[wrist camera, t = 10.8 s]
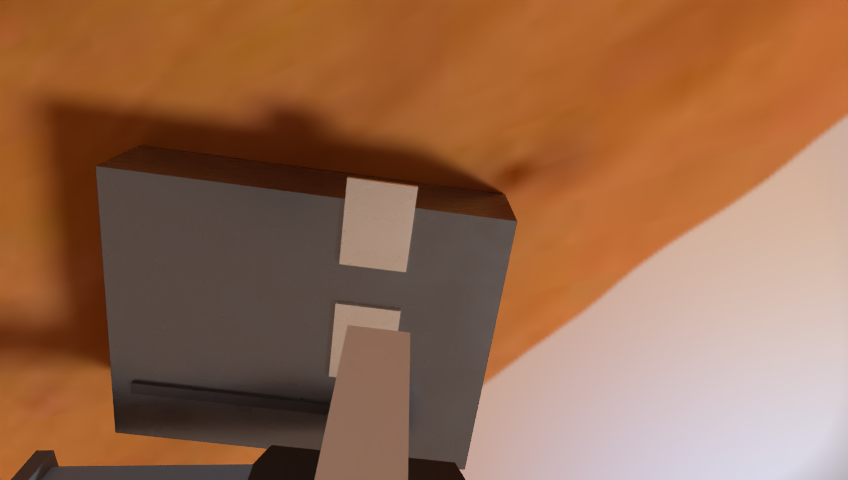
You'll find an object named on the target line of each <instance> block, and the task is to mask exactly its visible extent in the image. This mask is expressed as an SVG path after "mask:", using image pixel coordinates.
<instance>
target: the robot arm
mask: <svg viewBox="0 0 848 480" xmlns="http://www.w3.org/2000/svg"><path fill="white" fill-rule="evenodd" d="M409 384H410V332H402V331H393V330H385V329H377V328H368V327H360V326H352V325H347V330H346V335H345V339H344V344H343V349H342V353H341V358H340V363H339V367H338V372H337V377H336V381H335V386H334V391H333V395H332V400H331V405H330V409H329V414H328V419H327V423H326V428H325V433H324V437H323V442H322V447H321V450H316V449H306V448H296V447H287V446H277V445H271V446H270V447H269V448H268V449H267V450H266V451H265V452H264V453H263V454H262V455H261V456H260V457H259V458H258V460H257V461H256V462H255V463H254V464H253V466H252V469H251V472H250V475H249V477H248V480H465V478H464V477H463V475H462V473H461V472H460V470H459V468H458V467H457V465H456V463H455V462H446V461H437V460H427V459H418V458H408V449H409Z"/></svg>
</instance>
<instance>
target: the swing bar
mask: <svg viewBox="0 0 848 480" xmlns="http://www.w3.org/2000/svg"><path fill="white" fill-rule="evenodd" d="M252 466H253V464H252V465H158V466H65V467H59V466H58V463H57V460H56V457H55V454H54V450H48V451H36V452H35V453H34V454H33V455H32V456H31V457H30V459H29V460H28V461H27V462H26V463H25V464H24V465H23V467H22V468H21V469H20V470H19V471H18V472H17V473H16V475H15V476H14V477H13V478H12V479H11V480H248V477H249V475H250V472H251V469H252Z"/></svg>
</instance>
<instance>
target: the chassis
mask: <svg viewBox="0 0 848 480" xmlns="http://www.w3.org/2000/svg"><path fill="white" fill-rule="evenodd" d="M96 177H97V190H98V203H99V217H100V230H101V244H102V257H103V271H104V284H105V297H106V311H107V324H108V338H109V351H110V365H111V378H112V391H113V405H114V418H115V432H116V433H125V434H135V435H144V436H153V437H163V438H172V439H182V440H191V441H200V442H210V443H219V444H229V445H238V446H247V447H257V448H266V449H268V448H269V447H270V446H271V445H277V446H287V447H296V448H306V449H316V450H321V447H322V442H323V437H324V433H325V428H326V423H327V419H328V414H329V409H330V405H331V400H332V395H333V391H334V386H335V381H336V377H337V372H338V367H339V363H340V358H341V353H342V349H343V344H344V339H345V335H346V330H347V325H352V326H360V327H368V328H377V329H385V330H393V331H402V332H410V384H409V449H408V458H418V459H427V460H437V461H446V462H455V463H456V465H457V467H458V468H459V469H465V465H466V461H467V456H468V451H469V447H470V442H471V437H472V432H473V427H474V423H475V418H476V413H477V409H478V404H479V399H480V394H481V390H482V385H483V380H484V376H485V371H486V366H487V362H488V357H489V352H490V347H491V343H492V338H493V333H494V328H495V324H496V319H497V314H498V310H499V305H500V300H501V295H502V291H503V286H504V281H505V277H506V272H507V267H508V262H509V258H510V253H511V248H512V243H513V239H514V234H515V229H516V225H517V220H516V218H515V215H514V213H513V211H512V209H511V207H510V205H509V202H508V200H507V198H506V196H505V194H499V193H492V192H484V191H477V190H469V189H462V188H454V187H447V186H439V185H432V184H424V183H417V182H409V181H402V180H394V179H387V178H379V177H372V176H364V175H357V174H349V173H342V172H334V171H327V170H319V169H312V168H304V167H297V166H289V165H282V164H274V163H267V162H259V161H252V160H244V159H237V158H229V157H222V156H214V155H207V154H199V153H192V152H184V151H177V150H169V149H162V148H154V147H147V146H137V147H135V148H133V149H131V150H129V151H127V152H125V153H123V154H121V155H118V156H116V157H114V158H112V159H110V160H108V161H106V162H104V163H101V164H99V165H97V166H96Z"/></svg>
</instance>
